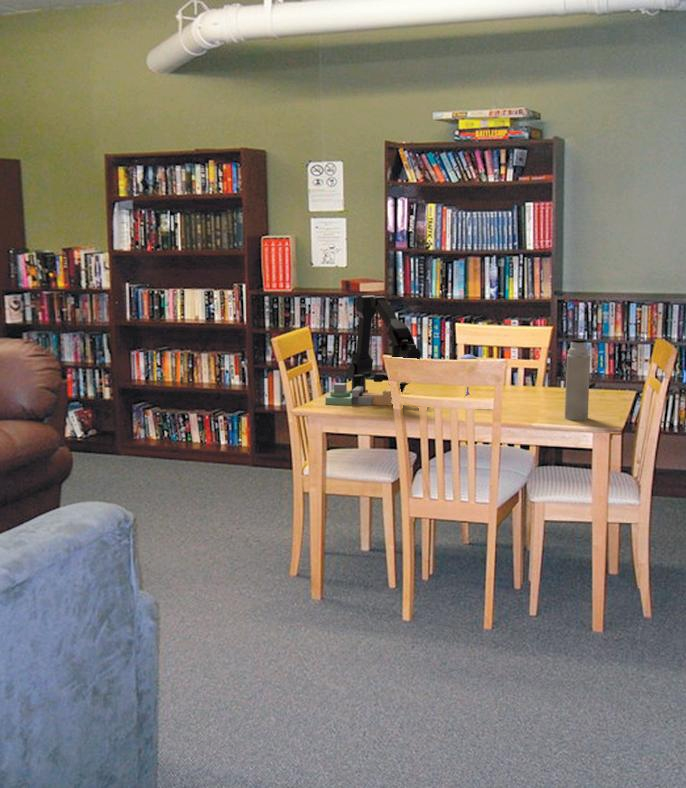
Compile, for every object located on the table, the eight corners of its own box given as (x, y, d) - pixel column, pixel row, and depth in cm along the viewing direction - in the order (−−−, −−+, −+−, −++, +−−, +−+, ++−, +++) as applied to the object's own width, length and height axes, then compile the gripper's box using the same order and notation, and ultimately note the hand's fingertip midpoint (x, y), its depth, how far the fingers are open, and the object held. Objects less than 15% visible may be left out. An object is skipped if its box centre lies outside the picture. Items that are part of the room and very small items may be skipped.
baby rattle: (462, 398, 416) (463, 352, 413) (482, 400, 412) (483, 353, 409) (452, 401, 409) (453, 355, 406) (473, 403, 405) (474, 356, 401)
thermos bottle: (562, 416, 380) (564, 337, 375) (584, 415, 381) (587, 337, 376) (567, 420, 373) (570, 340, 368) (590, 420, 373) (593, 340, 368)
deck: (332, 399, 416) (332, 381, 414) (376, 400, 412) (376, 382, 410) (325, 404, 405) (325, 385, 404) (370, 405, 401) (370, 387, 400)
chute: (365, 401, 410) (365, 388, 409) (394, 402, 408) (394, 389, 407) (362, 404, 404) (362, 391, 404) (391, 405, 402) (391, 392, 401)
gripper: (370, 362, 396) (370, 403, 398) (420, 363, 392) (420, 405, 394) (376, 357, 406) (376, 398, 409) (425, 359, 402) (424, 399, 405)
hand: (399, 400), depth 404 cm, fingers closed
